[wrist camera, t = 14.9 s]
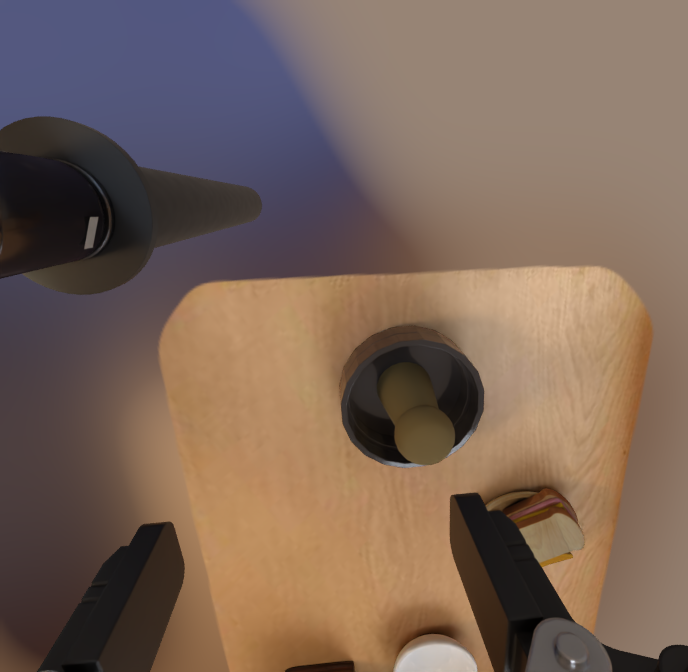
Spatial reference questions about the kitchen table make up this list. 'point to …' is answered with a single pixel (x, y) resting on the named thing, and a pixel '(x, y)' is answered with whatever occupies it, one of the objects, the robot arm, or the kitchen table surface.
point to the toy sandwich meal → (543, 523)
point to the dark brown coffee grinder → (325, 668)
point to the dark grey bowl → (446, 377)
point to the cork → (415, 414)
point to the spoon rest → (434, 656)
